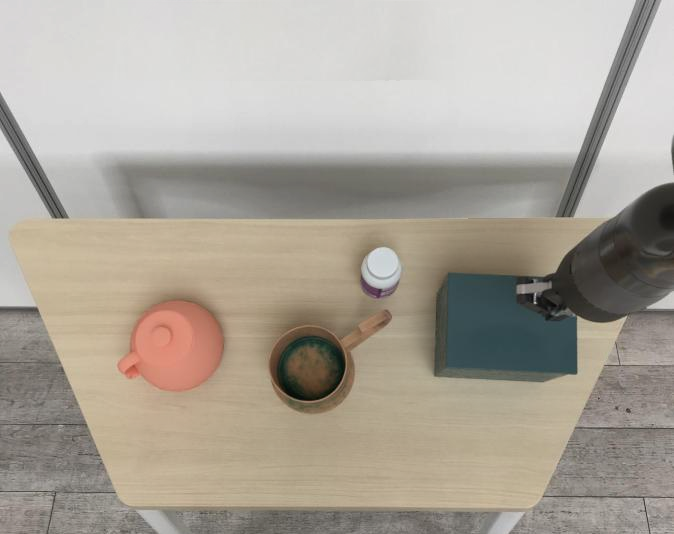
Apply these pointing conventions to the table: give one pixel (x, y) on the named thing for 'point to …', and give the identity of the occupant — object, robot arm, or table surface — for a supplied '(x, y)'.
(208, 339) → the sugar bowl
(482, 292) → the lid
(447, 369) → the teal storage bin
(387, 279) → the pill bottle
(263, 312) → the table surface
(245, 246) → the table surface
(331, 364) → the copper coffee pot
